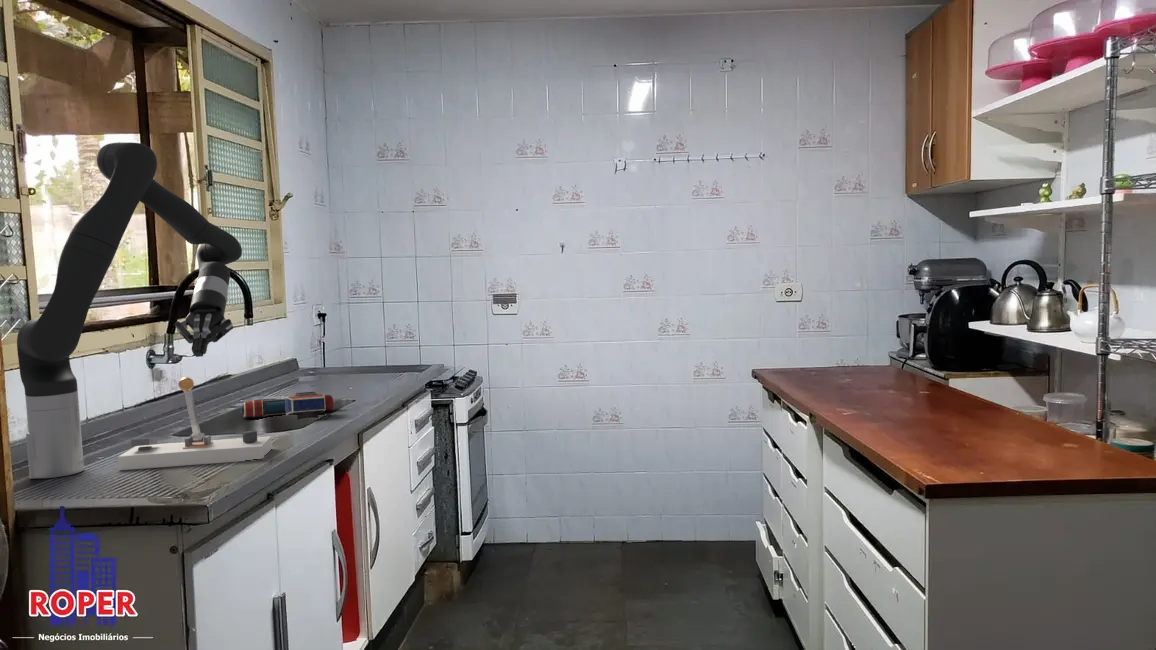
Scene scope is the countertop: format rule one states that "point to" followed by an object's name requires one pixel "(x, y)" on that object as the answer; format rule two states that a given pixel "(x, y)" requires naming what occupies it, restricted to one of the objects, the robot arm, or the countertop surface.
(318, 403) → the tool
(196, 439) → the toggle lever
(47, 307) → the robot arm
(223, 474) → the countertop surface
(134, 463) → the control panel
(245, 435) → the push button
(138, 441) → the rocker
